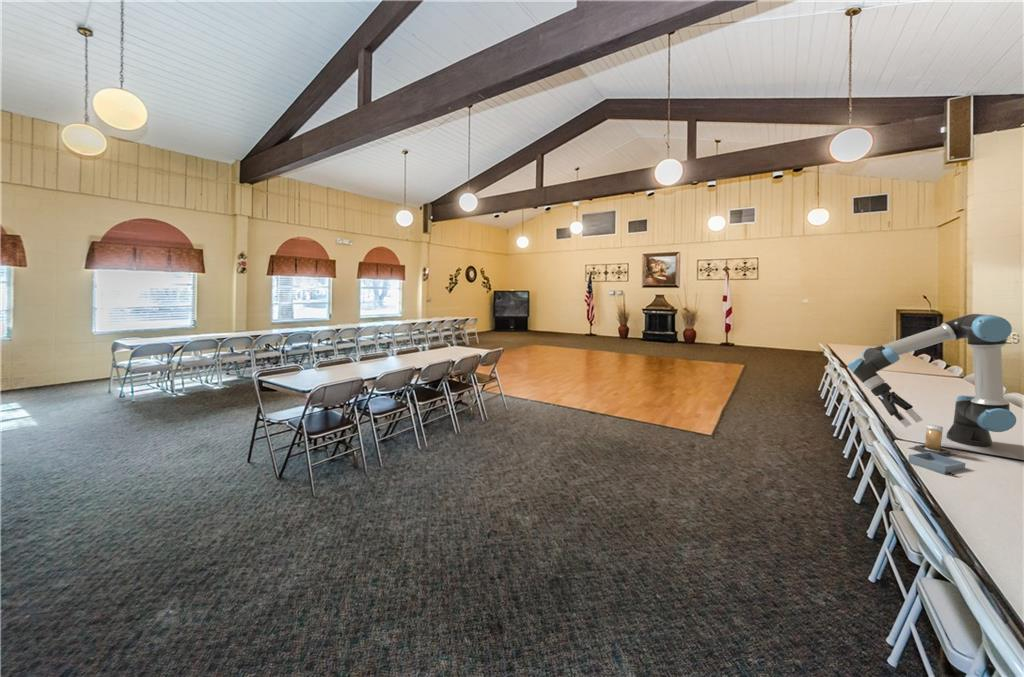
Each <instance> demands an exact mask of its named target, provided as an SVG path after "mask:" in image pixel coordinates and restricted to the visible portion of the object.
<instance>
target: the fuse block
mask: <svg viewBox="0 0 1024 677" xmlns="http://www.w3.org/2000/svg"><path fill="white" fill-rule="evenodd" d="M907 449H909V450H912V451H915V452H918V453H924V452H931V453H934V454H937V455H941V456H944V457H947V458H951V457H955V456H957V454H955V453H952V451H951V450H948V449H945V448H942V447H941V448H940V452H935V451H931V450H928V449H925V443H924V444H919V445H914V446H912V447H908V448H907Z"/></svg>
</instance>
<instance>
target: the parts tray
mask: <svg viewBox="0 0 1024 677" xmlns="http://www.w3.org/2000/svg"><path fill="white" fill-rule="evenodd" d="M907 463H908V464H911V465H914V466H918V467H921V468H924V469H927V470H929V471H932V472H935V473H939V474H941V475H944V476H946V475H950V474H952V472H954V471H955V472H956V471H961V470H965V469H966V465H967V463H966V462H963V461H961V460H957V459H954V458H951V457H944V456H941V455H937V454H934V453H931V452H924V453H921V452H918V453H913V454H911V453H910V454H908V462H907Z"/></svg>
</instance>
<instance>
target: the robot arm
mask: <svg viewBox="0 0 1024 677" xmlns="http://www.w3.org/2000/svg"><path fill="white" fill-rule="evenodd" d="M1012 330H1013V328H1012V325H1011V323H1010V322H1009V320H1007V319H1006V318H1004V317H1002V316H999V315H995V314H994V315H993V314H982V313H981V314H979V313H972V314H965V315H962V316H959V317H956V318H953V319H952V320H951V319H950V320H948V321H944V322H942V323H941V324H940V325H939V326H937V327H933V328H931V329H928V330H924V331H921V332H919V333H915V334H912V335H910V336H906V337H903V338H901V339H898V340H897V339H896V340H894V341H891V342H887V343H885V344H883V345H879V346H875V347H867V348H865V349H863V350H862V352H861V355H862V356H861V357H862V358H861V357H858V358H856V359H854V360H852V361H850V362H849V363H848V364H847V368H848V370H850V371H851V373H852V374H853V375H854V376H855V377H857V379H859V381H860V382H861V383H863V386H864V387H866V388H867V389H868V390H870V392H871V393H872V394H873V395H874V396H875V397H877V399H878V400H879V401H880V402H881V404H882V405H883V407H884V408H885V410H886V412H888V414H889V415H890V416H892V417H893V416H894V418H896V420H898V421H899V423H900V424H901V425H902V426H903V427H904V428H908V427H910V426H911V425H913V424H912V423H911V421H910V420H909V419H907V417H906V416H904V414H903V413H901V412H899V411H898V408H897V406H898V407H900V408H901V409H903V410H904V411H905V413H907V415H908V416H909V417H910V418H911V419H912V420H913V421H914V422H915V423H917V424H918V423H919V422H921V421H923V420H924V419H923V418H922V417H921V416H920V415H919V414H918V413H917V412H916V411H915V410H914V409H913V408H914V406H913V405H912V404H911V403H909V402H907V401H906V400H905V399H904V398H902V397H901V396H899V394H897V393H896V392H895V391H891V390H892V389H893V388H892V386H891V385H889V384H888V383H887V382H886V380H885V379H884V378H883V377H882V376H881V375H879V374H878V372H879V371H881V370H883V369H885V368H888V367H889V366H892V365H895V363H897V362H899V361H900V360H901V357H900V356H901V355H905V354H908V353H912V352H915V351H918V350H921V349H925V348H927V347H931V346H933V345H936V344H940V343H943V342H946V341H953V342H954V341H957V340H960V339H967V345H968V346H969V347H971V348H972V361H973V375H974V376H973V378H974V393H975V396H972V395H958V396H956V401H955V406H954V408H955V409H954V414H953V416H954V417H953V422H952V425H951V426H950V428H949V429H948V431H947V432H946V438H947V439H948V438H949V439H948V440H950V439H951V440H950V441H953V442H957V443H959V444H964V445H970V446H973V447H974V446H975V447H984V448H985V447H987V448H988V447H991V446H992V445H993V440H992V437H991V433H990V432H993V433H1002V432H1007V431H1009V430H1011V429H1012V428H1014V427H1015V426H1016V423H1017V417H1016V415H1015V414H1014V413H1013V412H1012V411H1011V410H1010V409H1011V408H1010V402H1009V401H1008V400H1006V399H1005V394H1004V379H1003V374H1004V373H1003V359H1002V347H1003V346H1005V345H1006V344H1007V338H1008V337H1009V336H1011V333H1012ZM896 405H897V406H896Z"/></svg>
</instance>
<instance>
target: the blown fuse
mask: <svg viewBox="0 0 1024 677" xmlns="http://www.w3.org/2000/svg"><path fill="white" fill-rule="evenodd" d="M943 429H944V427H943V426H939V425H935V424H927V425H926V434H925V441H924V442H925V443H924V444H925V449H928V450H931V451H935V452H940V448H942V447H941V446H942V441H943V440H942V439H943V432H944V430H943Z"/></svg>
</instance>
